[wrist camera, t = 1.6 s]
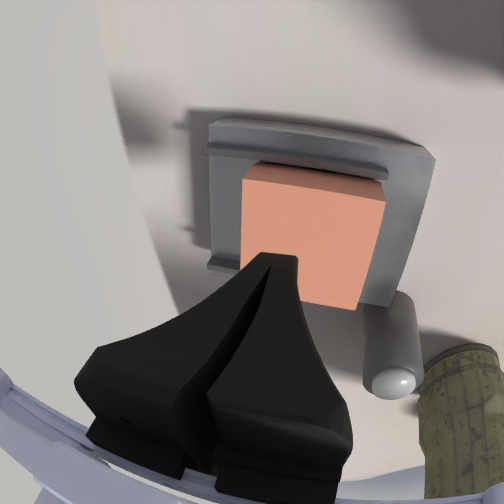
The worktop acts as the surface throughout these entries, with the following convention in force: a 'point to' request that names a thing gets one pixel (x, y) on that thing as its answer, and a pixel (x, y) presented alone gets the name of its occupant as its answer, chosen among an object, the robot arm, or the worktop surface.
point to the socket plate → (326, 160)
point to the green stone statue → (462, 422)
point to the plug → (392, 349)
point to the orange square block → (313, 227)
